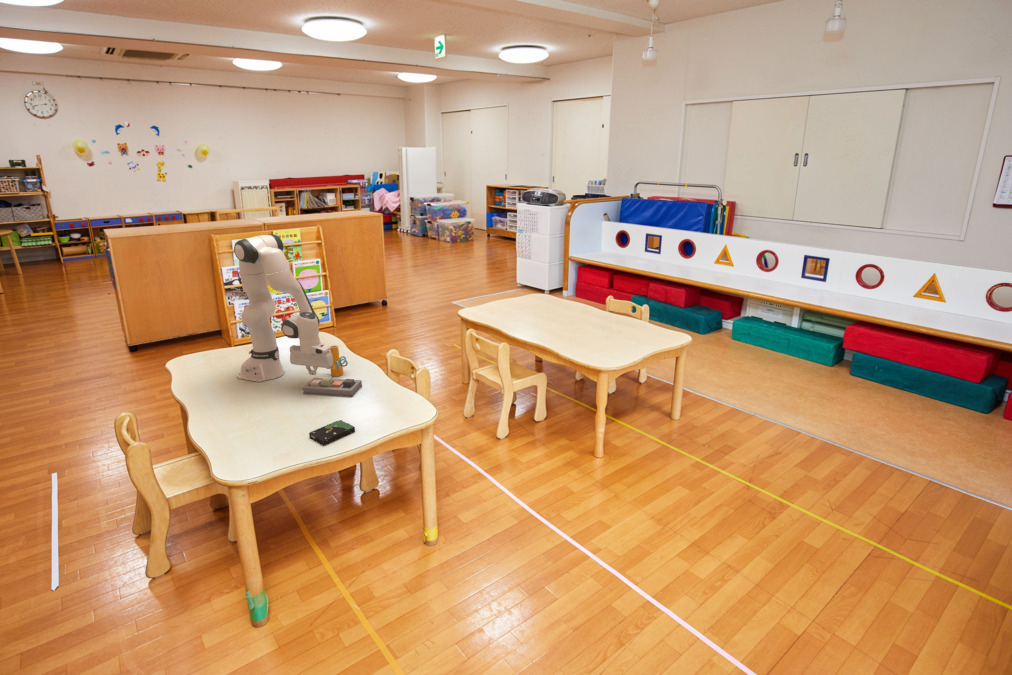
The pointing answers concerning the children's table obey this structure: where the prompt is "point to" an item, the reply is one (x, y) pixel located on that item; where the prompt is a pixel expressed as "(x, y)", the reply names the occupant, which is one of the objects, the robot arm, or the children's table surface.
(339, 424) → the disk drive
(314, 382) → the key white
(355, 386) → the keyboard
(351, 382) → the key charcoal
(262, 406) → the children's table surface
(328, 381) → the key sage
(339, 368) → the orange and blue toy
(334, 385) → the key terracotta
